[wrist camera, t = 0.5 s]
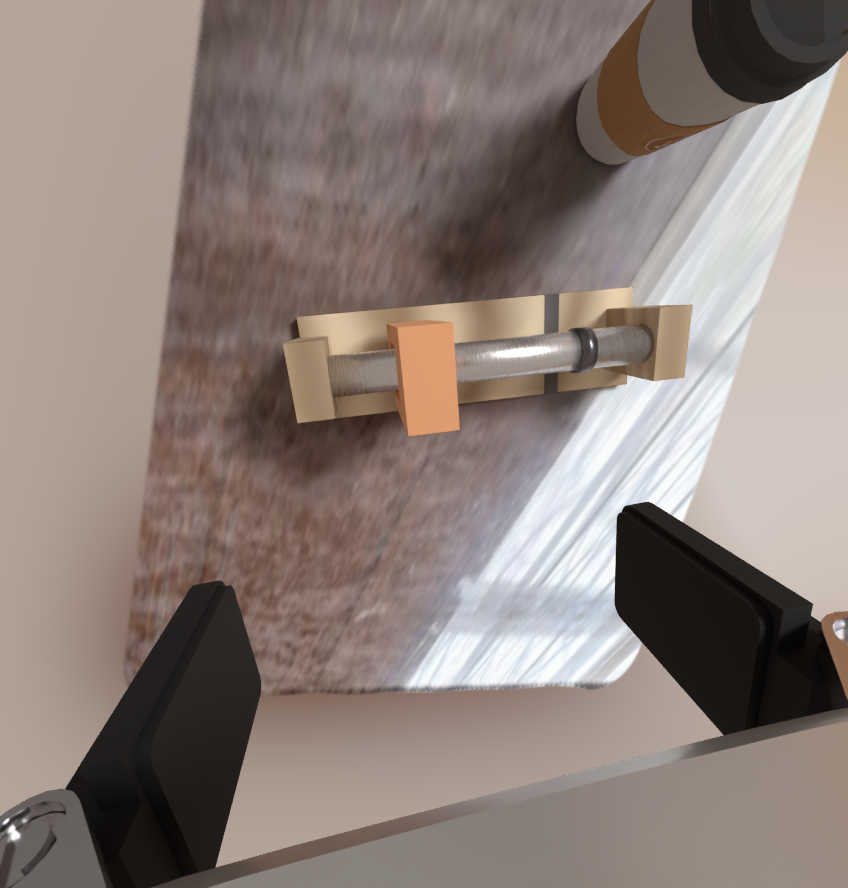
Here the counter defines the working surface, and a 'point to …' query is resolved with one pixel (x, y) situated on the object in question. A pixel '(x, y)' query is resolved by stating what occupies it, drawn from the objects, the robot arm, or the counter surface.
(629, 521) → the robot arm
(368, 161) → the counter surface
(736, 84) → the coffee cup
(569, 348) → the pipe
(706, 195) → the counter surface
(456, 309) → the beige long frame
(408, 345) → the collar
